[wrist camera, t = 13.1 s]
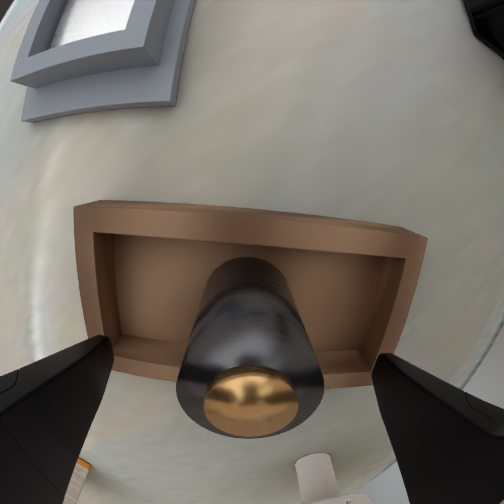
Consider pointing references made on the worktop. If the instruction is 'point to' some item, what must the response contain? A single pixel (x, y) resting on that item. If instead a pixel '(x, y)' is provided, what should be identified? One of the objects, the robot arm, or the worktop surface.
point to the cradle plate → (91, 19)
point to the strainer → (322, 482)
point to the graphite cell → (249, 355)
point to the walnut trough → (230, 247)
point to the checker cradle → (103, 61)
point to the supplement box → (76, 482)
